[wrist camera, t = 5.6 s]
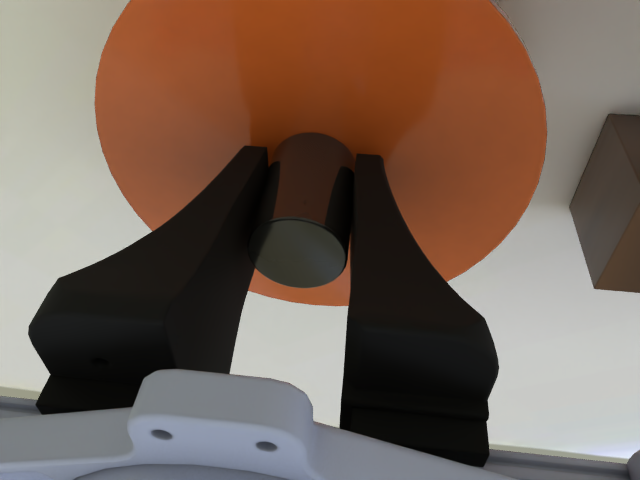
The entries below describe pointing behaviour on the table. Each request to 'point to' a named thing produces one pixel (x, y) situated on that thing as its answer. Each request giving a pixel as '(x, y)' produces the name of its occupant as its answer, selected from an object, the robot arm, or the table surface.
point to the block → (611, 207)
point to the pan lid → (326, 123)
